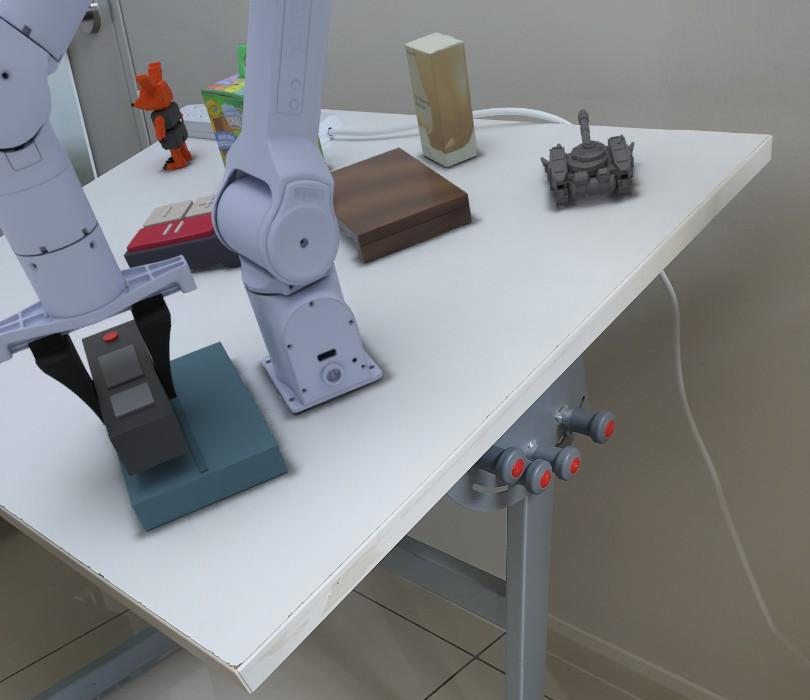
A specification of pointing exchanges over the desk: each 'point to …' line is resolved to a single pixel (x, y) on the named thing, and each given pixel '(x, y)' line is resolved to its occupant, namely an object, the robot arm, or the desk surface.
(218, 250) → the calculator
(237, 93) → the chalk box
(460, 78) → the cosmetic box
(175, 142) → the toy animal
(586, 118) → the tank toy
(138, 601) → the desk surface
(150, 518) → the teal grooved block
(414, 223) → the wooden keepsake box
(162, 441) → the remote
